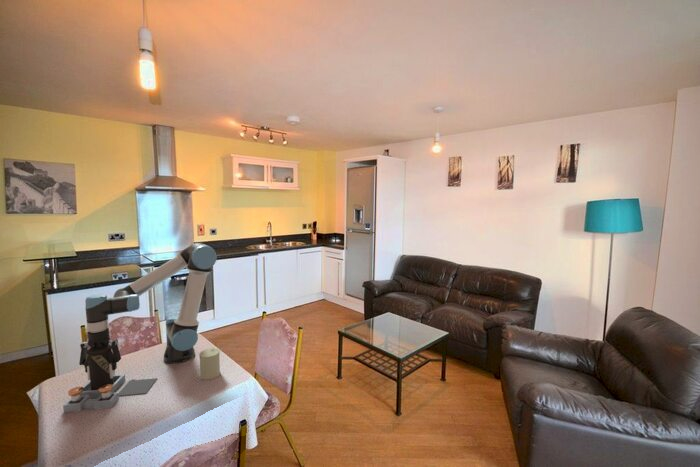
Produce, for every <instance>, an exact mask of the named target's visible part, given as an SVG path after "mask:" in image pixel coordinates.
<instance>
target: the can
mask: <svg viewBox="0 0 700 467" xmlns="http://www.w3.org/2000/svg"><path fill="white" fill-rule="evenodd" d="M220 353H221V351H220V350H219V348H212V347H211V348H206V349H203V350H202V351H200V353H199V367H200V368H199V373H200V374H199V377H200V379H202V380H204V381H205V380H212V379H215V378H217V377H218V376H220V374H221V371H220V370H221V369H220V367H221V366H220Z"/></svg>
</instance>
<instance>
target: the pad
mask: <svg viewBox="0 0 700 467" xmlns="http://www.w3.org/2000/svg"><path fill="white" fill-rule="evenodd" d="M157 380H158V378H157V377H155V378H143V379H131V380H128V382H127V383H126V384H125V385H124V386H123V387H122V389H120V390H119V392H118V395H119V397H126V396H127V397H129V396H139V395H146V394H148V392H149V391H150V389H151V388H152V387H153V386H154V384H155V383H156V382H157Z"/></svg>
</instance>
